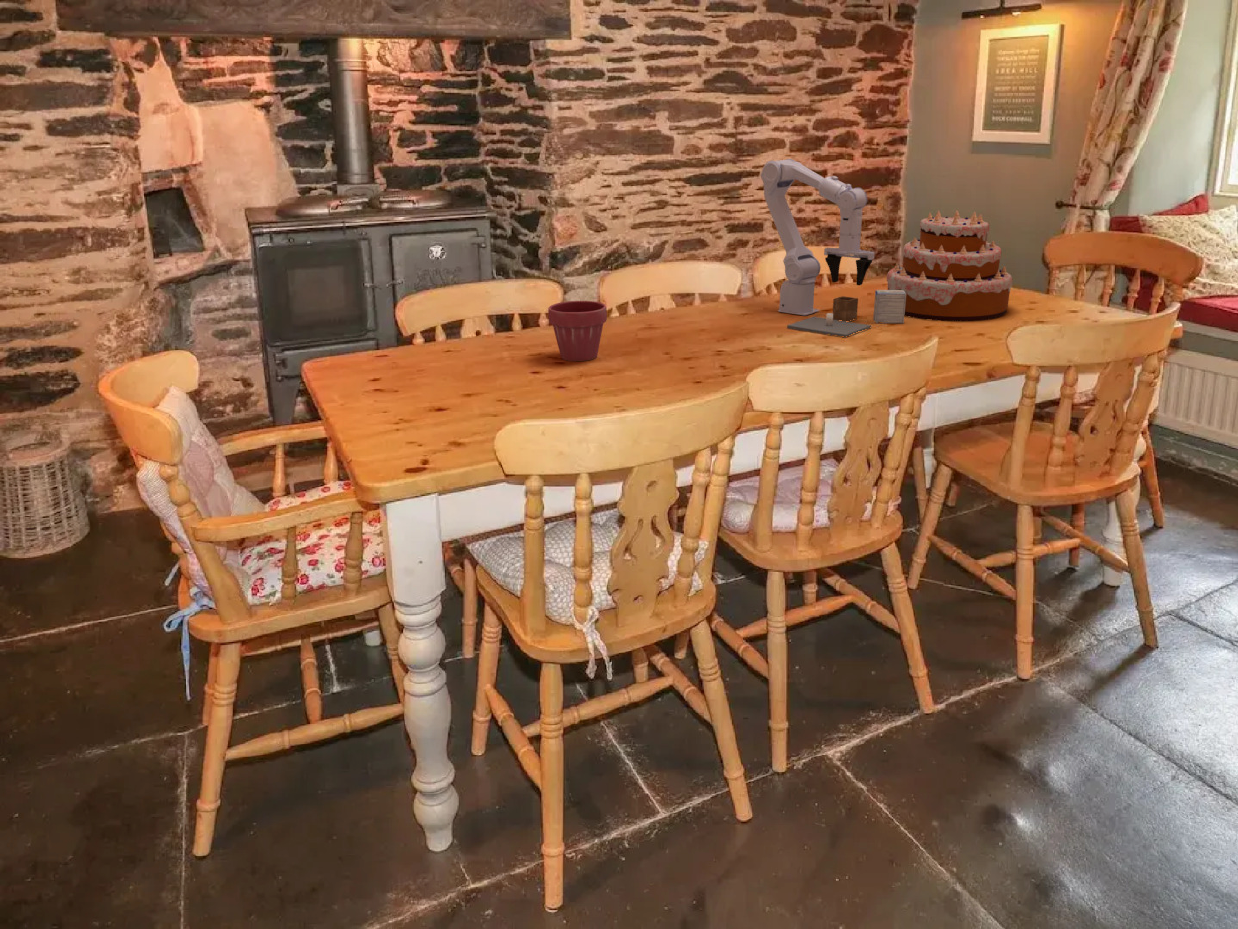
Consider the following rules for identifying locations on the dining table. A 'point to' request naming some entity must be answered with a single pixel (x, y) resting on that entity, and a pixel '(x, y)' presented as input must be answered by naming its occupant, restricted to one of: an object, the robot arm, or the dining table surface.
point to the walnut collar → (845, 308)
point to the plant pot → (578, 328)
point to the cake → (952, 272)
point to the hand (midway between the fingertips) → (847, 283)
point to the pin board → (828, 326)
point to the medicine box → (889, 306)
